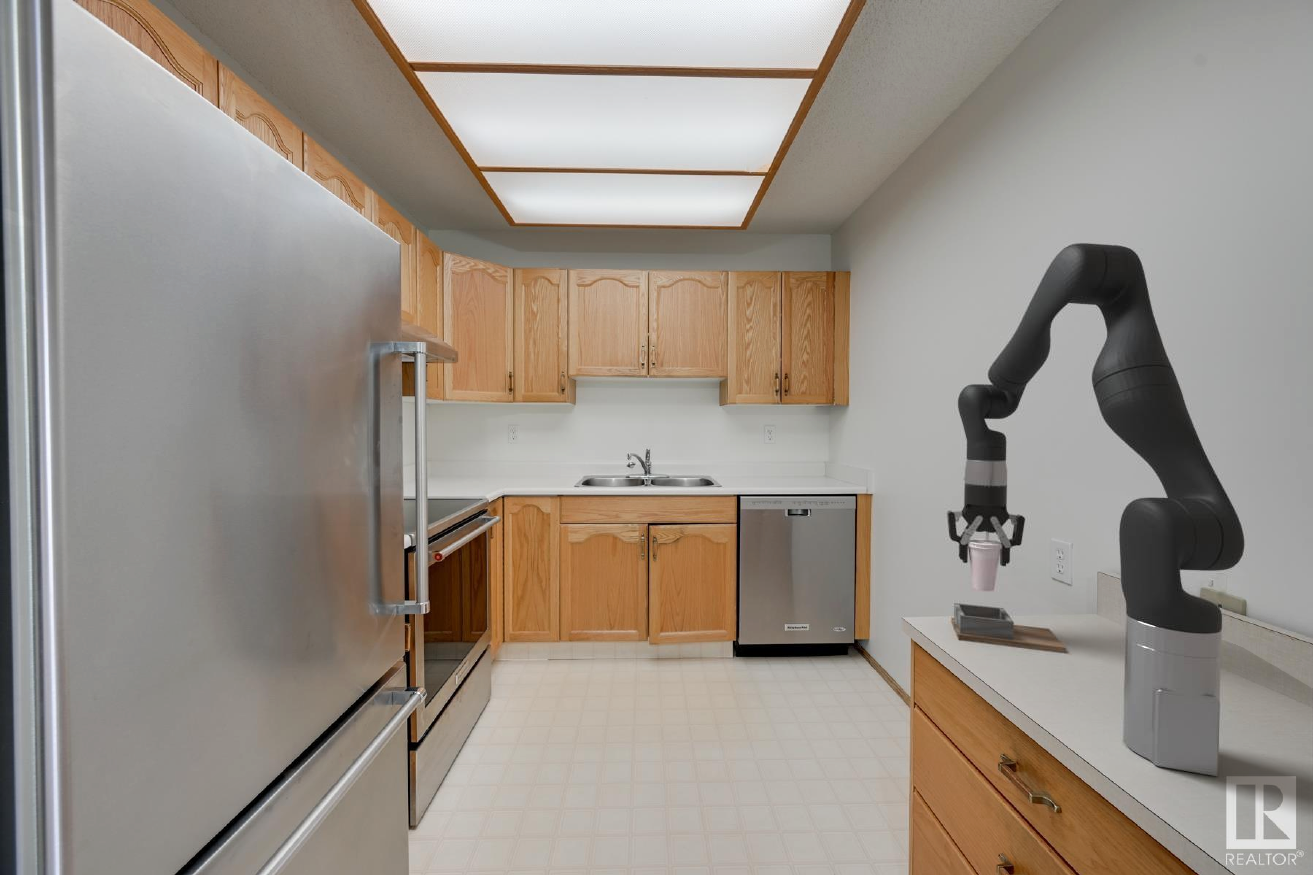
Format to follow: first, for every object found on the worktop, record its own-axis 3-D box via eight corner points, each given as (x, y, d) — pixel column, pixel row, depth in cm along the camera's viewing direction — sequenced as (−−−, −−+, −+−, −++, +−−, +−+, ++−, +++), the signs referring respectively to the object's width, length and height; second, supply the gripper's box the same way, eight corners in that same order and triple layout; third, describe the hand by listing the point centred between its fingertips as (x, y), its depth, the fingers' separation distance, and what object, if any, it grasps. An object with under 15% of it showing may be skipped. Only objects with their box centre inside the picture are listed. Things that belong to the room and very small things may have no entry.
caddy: (1065, 653, 107) (1066, 629, 107) (958, 639, 114) (959, 617, 114) (1048, 633, 118) (1049, 611, 118) (951, 622, 124) (951, 601, 124)
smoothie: (999, 595, 112) (1000, 524, 112) (963, 589, 116) (964, 520, 116) (1003, 588, 117) (1004, 520, 117) (968, 582, 121) (969, 517, 121)
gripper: (948, 482, 115) (946, 564, 116) (1031, 485, 110) (1029, 571, 111) (944, 479, 123) (942, 556, 123) (1021, 482, 117) (1020, 563, 118)
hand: (983, 563), depth 117 cm, fingers closed on smoothie, 6 cm apart
